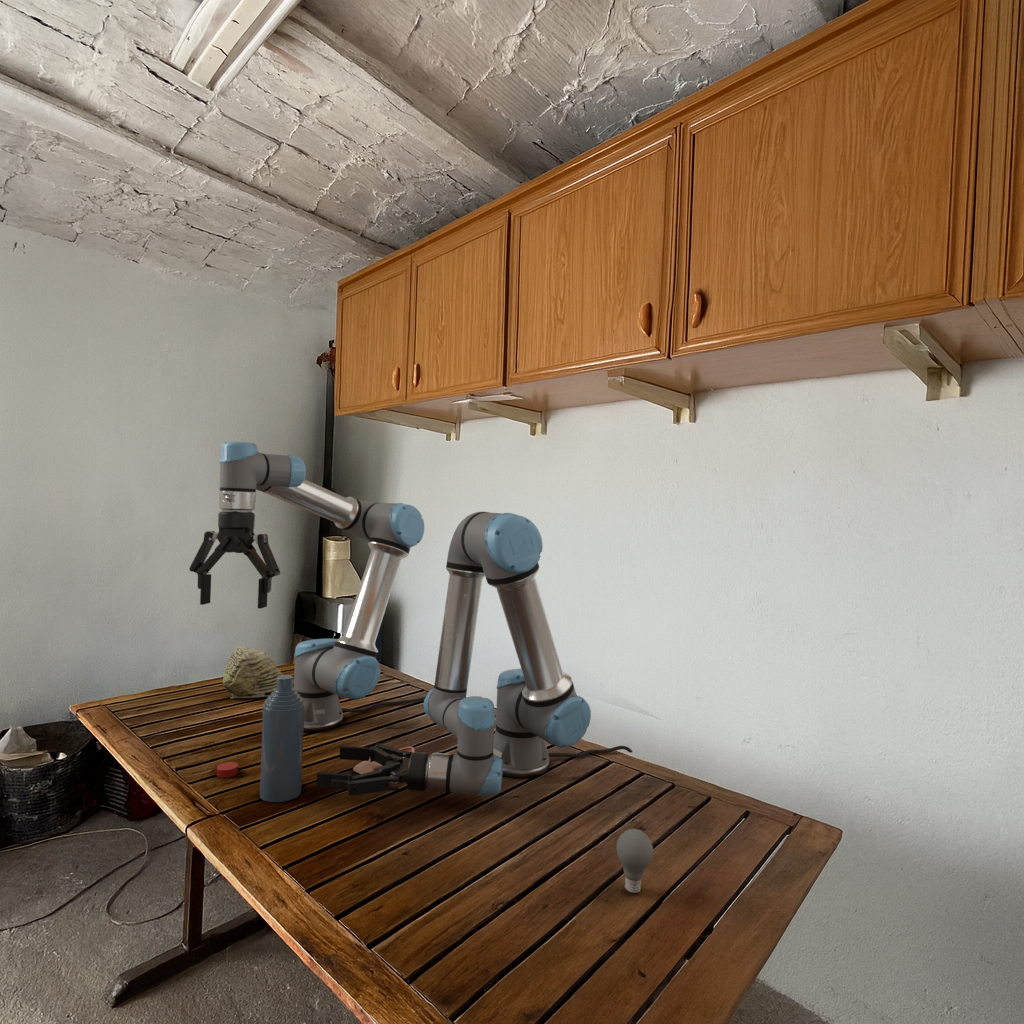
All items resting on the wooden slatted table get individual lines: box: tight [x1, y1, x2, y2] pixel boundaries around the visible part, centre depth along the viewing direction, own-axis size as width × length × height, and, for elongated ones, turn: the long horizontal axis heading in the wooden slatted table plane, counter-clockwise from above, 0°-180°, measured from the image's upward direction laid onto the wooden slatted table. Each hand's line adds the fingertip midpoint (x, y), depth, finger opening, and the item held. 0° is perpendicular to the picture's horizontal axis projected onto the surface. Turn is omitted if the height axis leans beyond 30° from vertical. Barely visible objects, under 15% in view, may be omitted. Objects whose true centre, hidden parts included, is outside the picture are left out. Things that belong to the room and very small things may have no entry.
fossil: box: [222, 646, 283, 699], centre depth 198 cm, size 9×18×15 cm, turn 132°
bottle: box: [259, 674, 305, 803], centre depth 134 cm, size 8×8×25 cm
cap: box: [216, 761, 239, 779], centre depth 143 cm, size 4×4×2 cm
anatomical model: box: [352, 746, 416, 775], centre depth 149 cm, size 13×4×12 cm
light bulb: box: [615, 828, 654, 894], centre depth 106 cm, size 6×6×10 cm
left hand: (233, 605), depth 142 cm, fingers open, 13 cm apart
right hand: (329, 765), depth 134 cm, fingers open, 13 cm apart
